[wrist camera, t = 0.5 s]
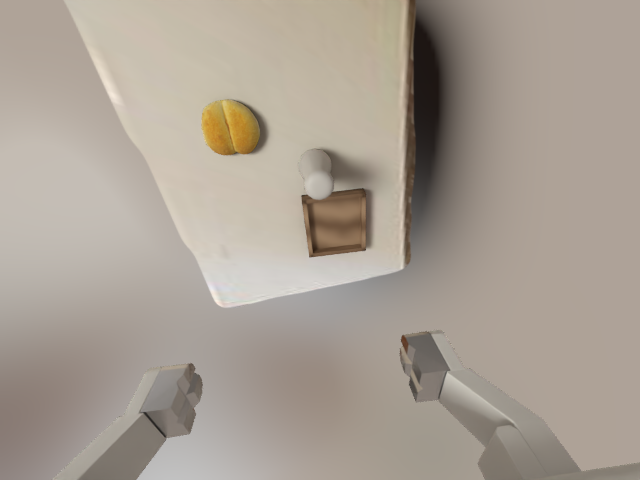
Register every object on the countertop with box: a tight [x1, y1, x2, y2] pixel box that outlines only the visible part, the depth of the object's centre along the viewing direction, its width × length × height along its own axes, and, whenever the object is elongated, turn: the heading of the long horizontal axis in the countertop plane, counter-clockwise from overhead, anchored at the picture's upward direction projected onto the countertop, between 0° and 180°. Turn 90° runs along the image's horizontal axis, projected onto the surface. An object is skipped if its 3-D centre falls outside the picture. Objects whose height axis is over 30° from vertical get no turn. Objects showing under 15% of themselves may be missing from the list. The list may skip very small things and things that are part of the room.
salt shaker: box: [298, 149, 334, 200], centre depth 42 cm, size 6×6×13 cm
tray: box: [302, 188, 366, 257], centre depth 53 cm, size 13×12×2 cm
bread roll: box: [201, 99, 260, 155], centre depth 42 cm, size 8×9×4 cm
